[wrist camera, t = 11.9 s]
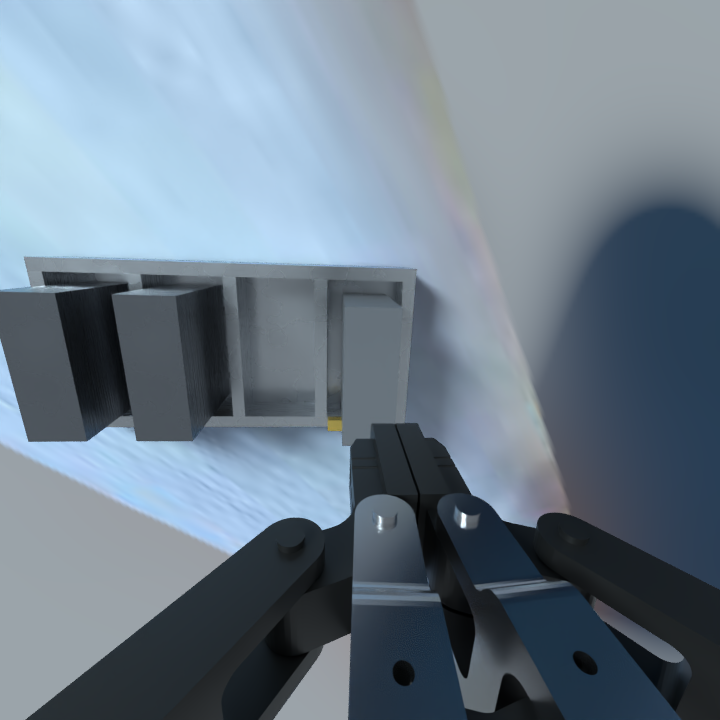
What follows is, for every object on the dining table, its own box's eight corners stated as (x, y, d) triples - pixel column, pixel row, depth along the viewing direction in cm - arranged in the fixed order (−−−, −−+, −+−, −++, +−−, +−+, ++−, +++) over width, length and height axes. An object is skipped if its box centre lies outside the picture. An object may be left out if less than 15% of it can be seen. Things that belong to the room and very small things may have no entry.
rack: (94, 407, 26) (2, 465, 19) (64, 256, 23) (-62, 257, 16) (397, 408, 28) (418, 462, 21) (406, 267, 25) (436, 272, 17)
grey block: (342, 292, 24) (344, 306, 18) (385, 293, 25) (403, 308, 18) (340, 397, 27) (342, 445, 20) (379, 398, 27) (393, 445, 20)
